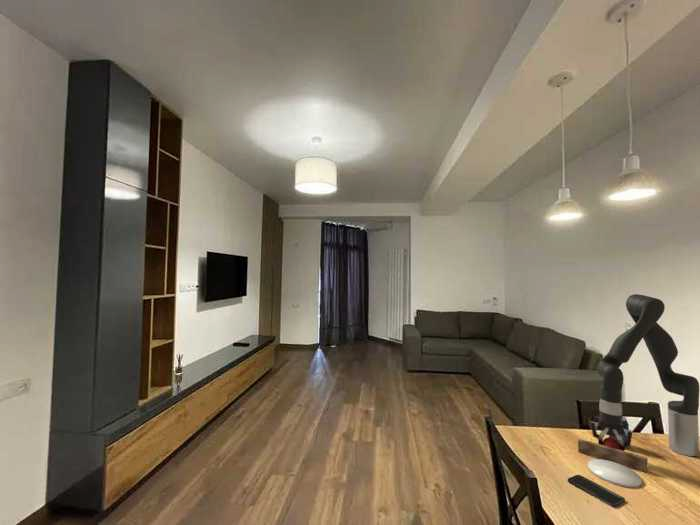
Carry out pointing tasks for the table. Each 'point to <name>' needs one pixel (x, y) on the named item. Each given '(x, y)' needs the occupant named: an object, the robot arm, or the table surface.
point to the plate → (614, 473)
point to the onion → (611, 443)
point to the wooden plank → (613, 455)
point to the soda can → (623, 435)
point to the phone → (597, 491)
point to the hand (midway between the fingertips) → (611, 451)
